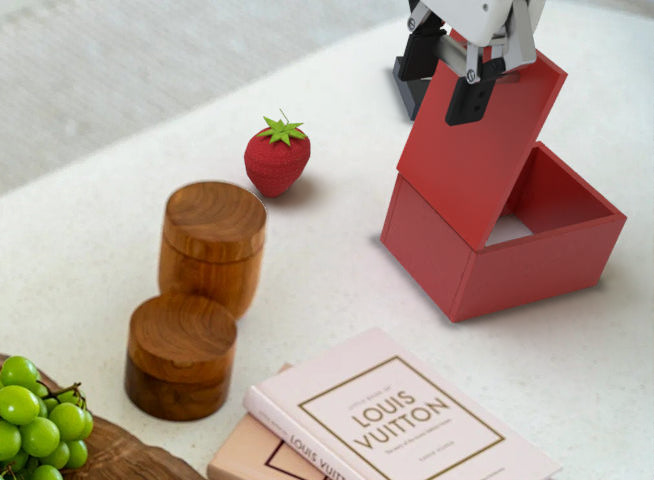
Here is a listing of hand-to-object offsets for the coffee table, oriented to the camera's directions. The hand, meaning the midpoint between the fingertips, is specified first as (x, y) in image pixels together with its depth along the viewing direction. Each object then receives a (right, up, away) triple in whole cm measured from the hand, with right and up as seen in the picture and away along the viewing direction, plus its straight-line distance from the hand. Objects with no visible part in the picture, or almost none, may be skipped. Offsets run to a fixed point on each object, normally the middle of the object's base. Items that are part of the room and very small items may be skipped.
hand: (438, 97), depth 92 cm
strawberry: (-9, -4, +26) cm, 27 cm away
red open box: (+10, -12, +18) cm, 24 cm away
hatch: (+4, -1, +4) cm, 6 cm away
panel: (+14, +9, +38) cm, 42 cm away
